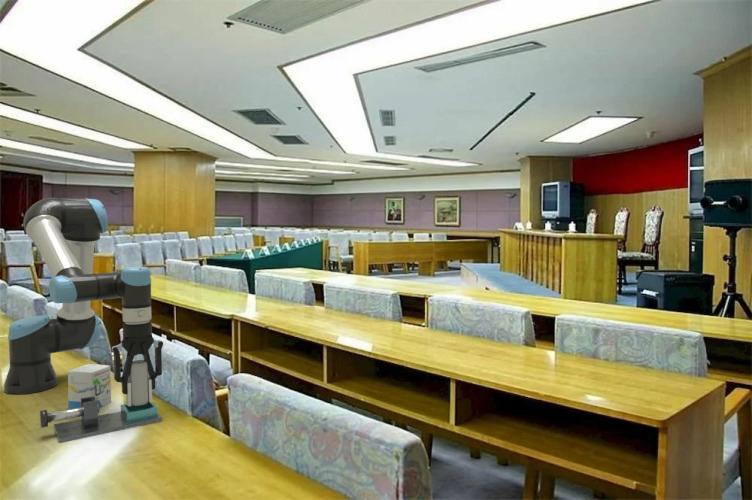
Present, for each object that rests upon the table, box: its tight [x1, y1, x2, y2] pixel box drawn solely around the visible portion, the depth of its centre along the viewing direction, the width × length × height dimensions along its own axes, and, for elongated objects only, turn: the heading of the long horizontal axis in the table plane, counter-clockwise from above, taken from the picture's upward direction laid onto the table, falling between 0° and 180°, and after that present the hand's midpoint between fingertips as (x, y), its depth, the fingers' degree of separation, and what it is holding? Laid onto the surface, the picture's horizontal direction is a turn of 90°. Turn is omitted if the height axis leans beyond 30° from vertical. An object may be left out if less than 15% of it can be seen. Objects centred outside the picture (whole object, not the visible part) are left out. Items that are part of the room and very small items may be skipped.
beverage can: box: [128, 359, 149, 406], centre depth 153 cm, size 5×5×12 cm
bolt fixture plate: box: [53, 396, 163, 443], centre depth 149 cm, size 12×25×8 cm, turn 127°
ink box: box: [67, 363, 112, 409], centre depth 164 cm, size 8×8×12 cm
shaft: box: [39, 406, 100, 429], centre depth 143 cm, size 4×13×4 cm, turn 126°
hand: (139, 402), depth 154 cm, fingers closed on beverage can, 5 cm apart
